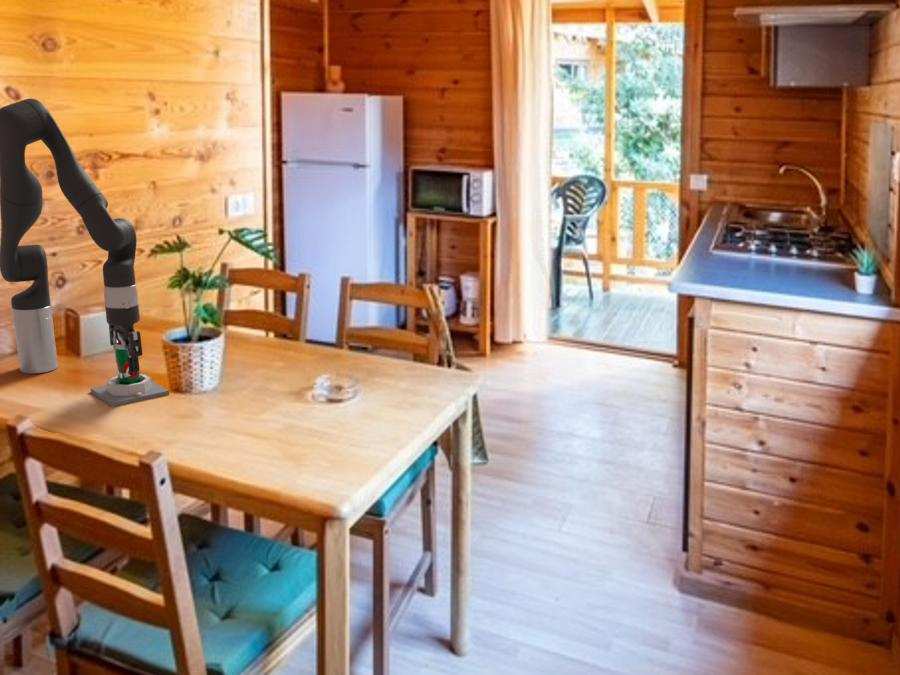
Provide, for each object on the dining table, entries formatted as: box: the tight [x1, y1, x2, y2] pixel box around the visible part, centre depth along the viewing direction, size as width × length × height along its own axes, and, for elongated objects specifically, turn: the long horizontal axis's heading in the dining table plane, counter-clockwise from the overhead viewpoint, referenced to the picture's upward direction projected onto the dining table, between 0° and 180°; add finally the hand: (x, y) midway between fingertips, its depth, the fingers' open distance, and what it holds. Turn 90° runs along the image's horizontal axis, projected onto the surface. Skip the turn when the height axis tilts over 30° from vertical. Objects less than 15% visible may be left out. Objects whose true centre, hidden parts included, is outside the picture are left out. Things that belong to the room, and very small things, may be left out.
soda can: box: [114, 342, 141, 385], centre depth 208 cm, size 5×5×12 cm
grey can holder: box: [90, 373, 170, 408], centre depth 210 cm, size 14×14×4 cm
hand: (127, 367), depth 209 cm, fingers open, 8 cm apart
